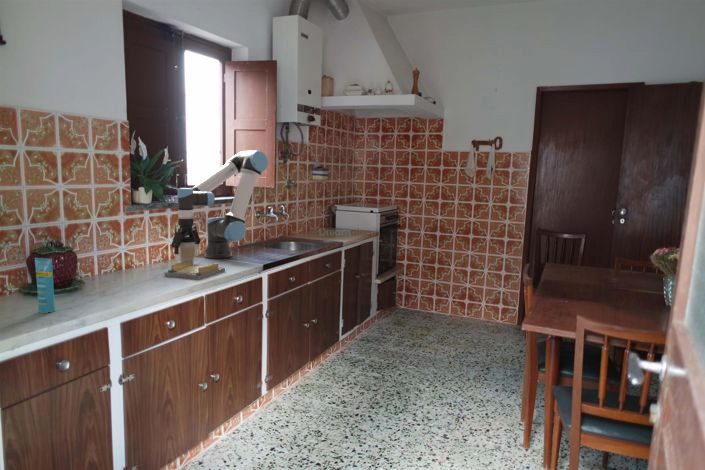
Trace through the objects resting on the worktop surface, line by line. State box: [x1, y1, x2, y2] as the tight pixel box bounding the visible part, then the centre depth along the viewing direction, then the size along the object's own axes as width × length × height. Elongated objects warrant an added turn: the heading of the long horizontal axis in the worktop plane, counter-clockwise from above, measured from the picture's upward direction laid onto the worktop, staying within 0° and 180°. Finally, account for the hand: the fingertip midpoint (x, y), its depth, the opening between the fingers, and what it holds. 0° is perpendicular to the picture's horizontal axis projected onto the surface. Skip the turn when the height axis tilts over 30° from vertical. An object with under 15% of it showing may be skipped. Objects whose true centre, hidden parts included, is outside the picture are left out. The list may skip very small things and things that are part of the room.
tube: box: [34, 257, 56, 314], centre depth 170 cm, size 7×5×19 cm, turn 81°
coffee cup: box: [179, 236, 196, 264], centre depth 254 cm, size 9×9×15 cm
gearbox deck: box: [163, 260, 226, 281], centre depth 235 cm, size 20×20×5 cm
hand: (186, 258), depth 255 cm, fingers open, 13 cm apart
